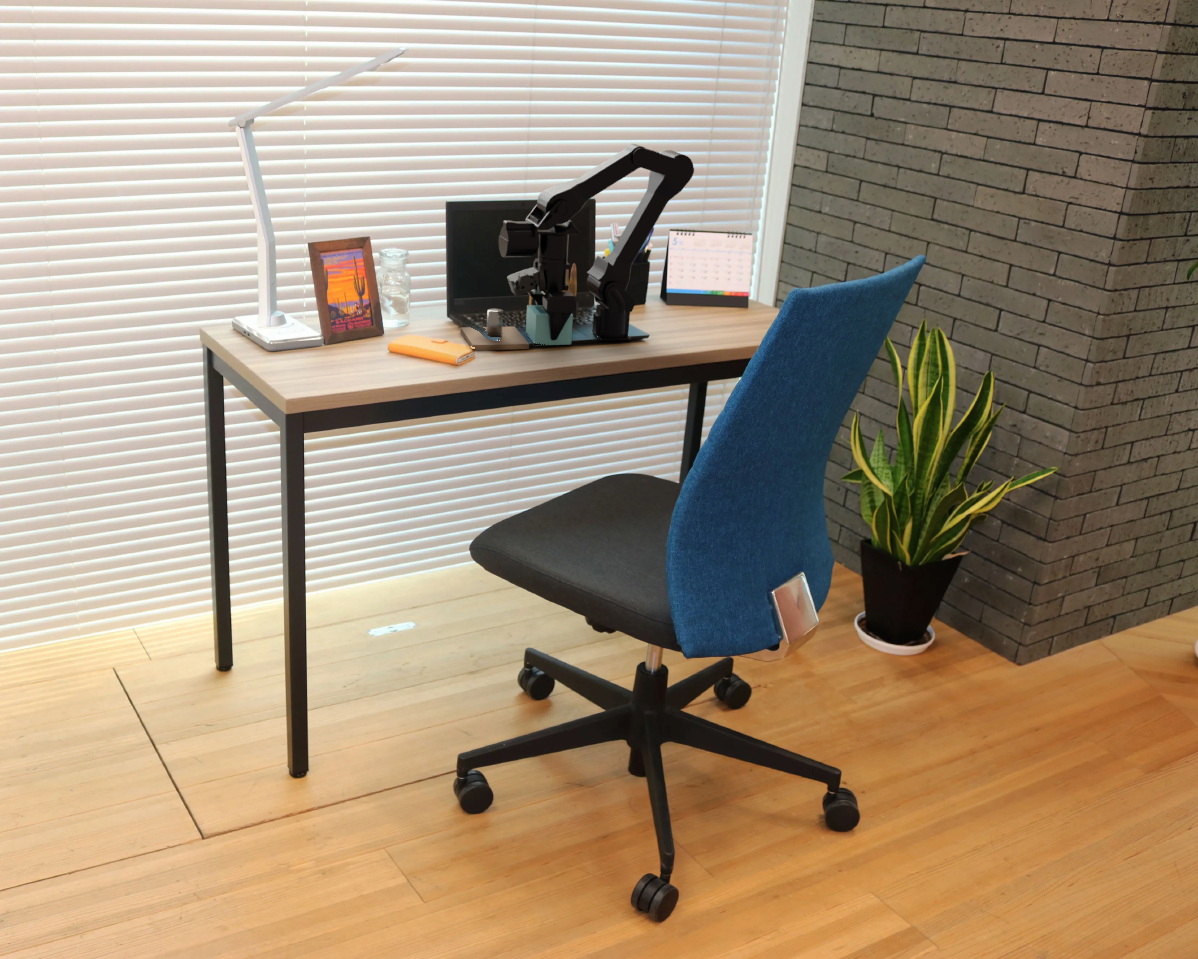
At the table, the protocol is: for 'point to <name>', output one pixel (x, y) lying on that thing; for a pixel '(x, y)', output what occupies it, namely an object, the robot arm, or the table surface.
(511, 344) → the post base
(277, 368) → the table surface
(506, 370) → the table surface
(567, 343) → the collar
